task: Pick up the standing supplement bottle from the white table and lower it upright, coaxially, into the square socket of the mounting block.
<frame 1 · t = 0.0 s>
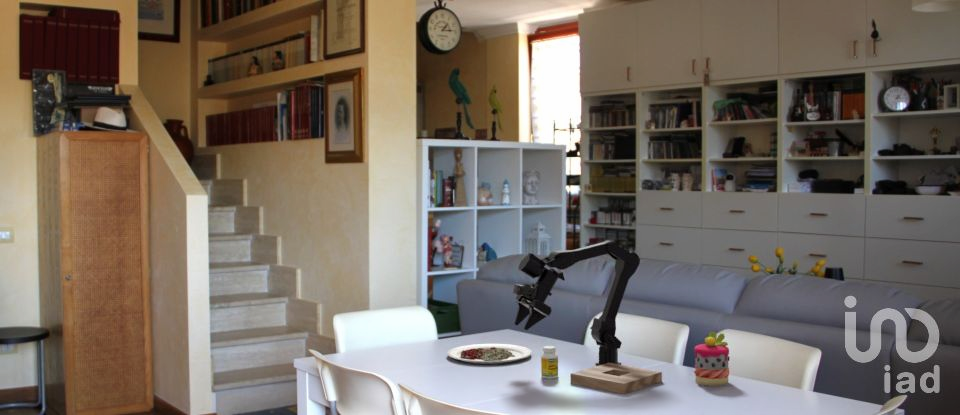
hand: (520, 327, 283), 15 cm above the table, tool tilted 35°, fingers open, 9 cm apart
supplement bottle: (549, 377, 277), on the table
socket block: (616, 382, 269), on the table
plated food: (489, 357, 310), on the table
cake: (711, 383, 267), on the table
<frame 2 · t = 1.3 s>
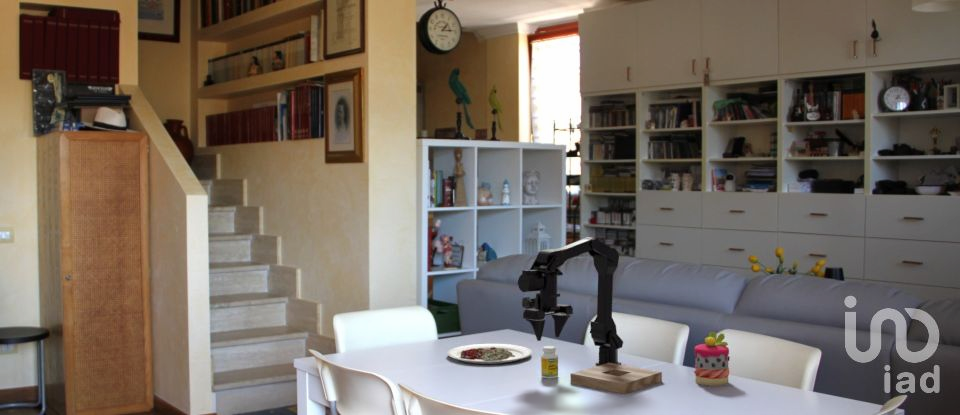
hand: (548, 338, 277), 12 cm above the table, tool pointing down, fingers open, 9 cm apart
nothing on the table moved.
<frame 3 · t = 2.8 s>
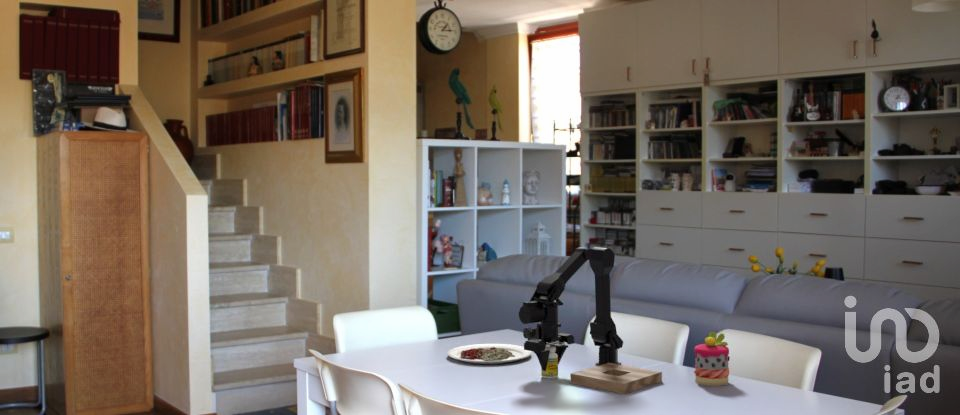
hand: (549, 369, 277), 3 cm above the table, tool pointing down, fingers closed on supplement bottle, 5 cm apart
supplement bottle: (549, 377, 277), on the table, touching gripper
everything else where it was.
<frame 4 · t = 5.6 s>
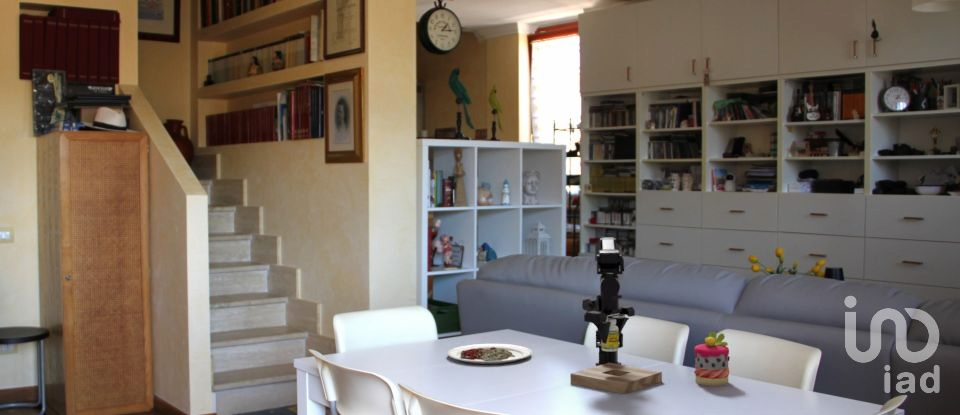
hand: (609, 341, 269), 12 cm above the table, tool pointing down, fingers closed on supplement bottle, 5 cm apart
supplement bottle: (609, 350, 269), point 10 cm above the table, touching gripper
everything else where it was.
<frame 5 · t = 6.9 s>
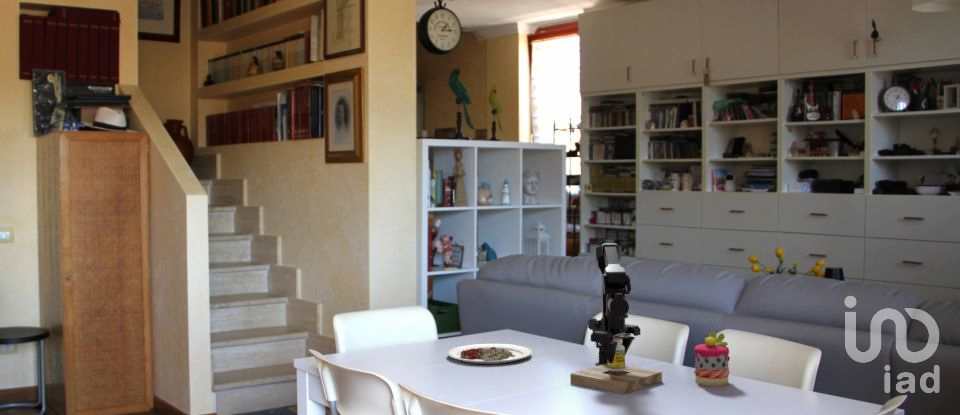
hand: (616, 361, 269), 6 cm above the table, tool pointing down, fingers closed on supplement bottle, 5 cm apart
supplement bottle: (616, 370, 269), point 4 cm above the table, touching gripper
everything else where it was.
when the fingers open (4 cm above the table, at t = 8.2 s): supplement bottle drops 1 cm, resting in socket block.
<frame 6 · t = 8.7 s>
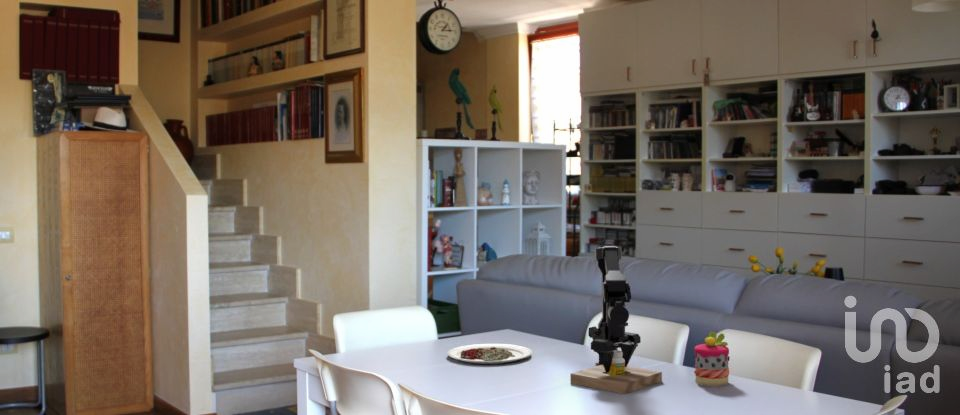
hand: (616, 369, 269), 4 cm above the table, tool pointing down, fingers open, 9 cm apart
supplement bottle: (616, 383, 269), resting in socket block
everything else where it was.
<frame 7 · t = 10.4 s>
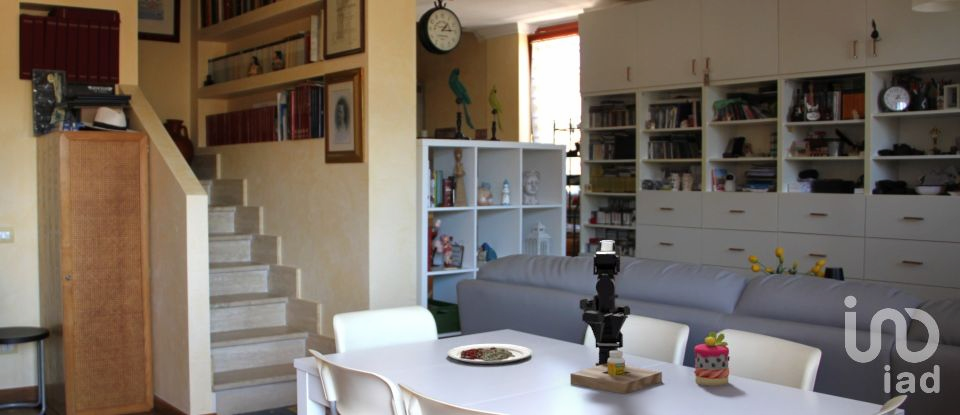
hand: (606, 340, 276), 12 cm above the table, tool pointing down, fingers open, 9 cm apart
nothing on the table moved.
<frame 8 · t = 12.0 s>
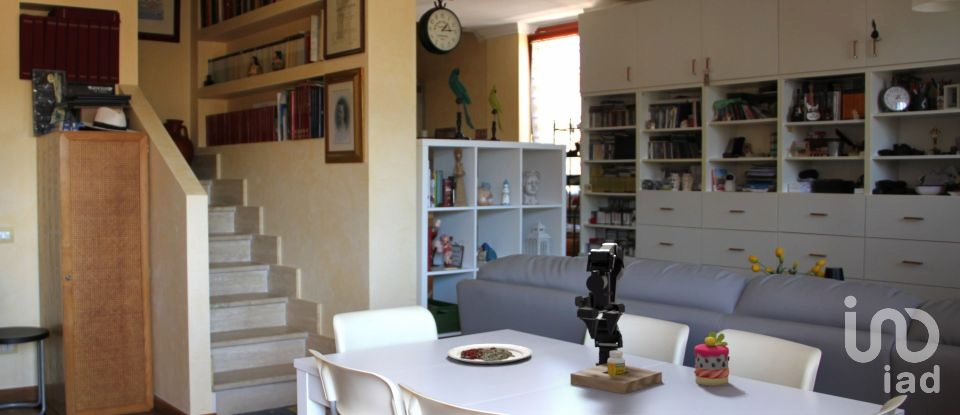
hand: (601, 337, 280), 12 cm above the table, tool pointing down, fingers open, 9 cm apart
nothing on the table moved.
at the end: supplement bottle 0.0 cm off-centre on the socket block, point 0.0 cm above the socket block's base; supplement bottle tilted 0°; the gripper is holding nothing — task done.
